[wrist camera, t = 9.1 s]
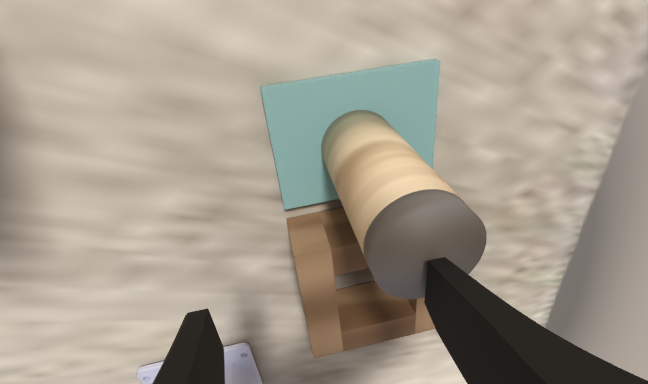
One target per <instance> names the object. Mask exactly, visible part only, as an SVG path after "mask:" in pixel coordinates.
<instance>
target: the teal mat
mask: <svg viewBox="0 0 648 384" xmlns="http://www.w3.org/2000/svg"><path fill="white" fill-rule="evenodd" d="M439 70H440V61H439V60H437V59H432V60H425V61H419V62H413V63H406V64H400V65H394V66H387V67H381V68H375V69H368V70H362V71H356V72H349V73H343V74H337V75H330V76H324V77H318V78H311V79H305V80H299V81H292V82H286V83H280V84H273V85H267V86H261V87H260V88H261V93H262V98H263V103H264V108H265V113H266V118H267V123H268V128H269V133H270V138H271V143H272V148H273V153H274V158H275V164H276V169H277V174H278V179H279V184H280V189H281V194H282V199H283V204H284V209H285V210H286V209H291V208H296V207H301V206H306V205H311V204H316V203H321V202H326V201H332V200H337V199H340V198H339V196H338V193H337V191H336V189H335V186H334V184H333V182H332V179H331V177H330V175H329V172H328V170H327V168H326V165H325V163H324V161H323V158H322V154H321V143H322V139H323V136H324V134H325V132H326V130H327V128H328V127H329V126H330V125H331V123H332V122H333V121H334V120H336V119H337V118H338V117H340V116H341V115H343V114H345V113H348V112H351V111H355V110H368V111H372V112H375V113H377V114H379V115H380V116H382V117H383V118H384V119H385V120H386V121H387V122H388V123H389V124H390V125H391V126H392V127H393V128H394V129H395V130H396V132H397V133H398V134H399V135H400V136H401V137H402V138H403V139H404V140H405V141H406V142H407V143H408V144H409V145H410V146H411V147H412V148H413V149H414V150H415V151H416V152H417V153H418V154H419V155H420V157H421V158H422V159H423V160H424V161H425V162H426V163H427V164H428V165H429V166H430V167H431V168H432V169H433V156H434V142H435V128H436V113H437V99H438V84H439Z"/></svg>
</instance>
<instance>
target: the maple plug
mask: <svg viewBox="0 0 648 384" xmlns="http://www.w3.org/2000/svg"><path fill="white" fill-rule="evenodd" d="M321 154H322V158H323V161H324V163H325V165H326V168H327V170H328V172H329V175H330V177H331V179H332V182H333V184H334V186H335V189H336V191H337V193H338V196H339V198H340V200H341V203H342V205H343V207H344V210H345V212H346V214H347V217H348V219H349V221H350V224H351V226H352V228H353V231H354V233H355V236H356V238H357V240H358V243H359V245H360V247H361V250H362V252H363V254H364V257H365V259H366V261H367V264H368V266H369V268H370V271H371V273H372V275H373V278H374V280H375V282H376V284H377V285H378V286H379V287H380V289H382V290H383V291H384V292H386V293H387V294H389V295H392V296H394V297H398V298H403V299H418V298H425V289H426V277H427V265H428V261H429V260H434V259H438V258H443V257H446V258H447V259H448V260H450V261H451V262H452V263H454V264H455V265H456V266H458V267H459V268H460V269H462V270H463V271H464V272H465V273H467V274H469V273H470V272H471V271H472V270H473V269H474V267H475V266H476V265H477V263H478V262H479V260H480V258H481V256H482V254H483V252H484V249H485V245H486V230H485V226H484V224H483V222H482V221H481V219H480V218H479V217H478V216H477V215H476V214H475V213H474V212H473V211H472V210H471V209H470V208H469V207H468V205H467V204H466V203H465V202H464V201H463V200H462V199H461V198H460V197H459V196H458V195H457V194H456V193H455V192H454V191H453V190H452V189H451V188H450V187H449V186H448V185H447V184H446V183H445V182H444V180H443V179H442V178H441V177H440V176H439V175H438V174H437V173H436V172H435V171H434V170H433V169H432V168H431V167H430V166H429V165H428V164H427V163H426V162H425V161H424V160H423V159H422V158H421V157H420V155H419V154H418V153H417V152H416V151H415V150H414V149H413V148H412V147H411V146H410V145H409V144H408V143H407V142H406V141H405V140H404V139H403V138H402V137H401V136H400V135H399V134H398V133H397V132H396V130H395V129H394V128H393V127H392V126H391V125H390V124H389V123H388V122H387V121H386V120H385V119H384V118H383V117H382V116H380V115H379V114H377V113H375V112H372V111H368V110H355V111H351V112H348V113H345V114H343V115H341V116H340V117H338V118H337V119H336V120H334V121H333V122H332V123H331V125H330V126H329V127H328V128H327V130H326V132H325V134H324V136H323V139H322V143H321Z"/></svg>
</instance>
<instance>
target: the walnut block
mask: <svg viewBox="0 0 648 384" xmlns="http://www.w3.org/2000/svg"><path fill="white" fill-rule="evenodd" d="M287 224H288V229H289V235H290V240H291V246H292V251H293V256H294V261H295V266H296V271H297V276H298V281H299V286H300V291H301V296H302V301H303V306H304V311H305V316H306V321H307V326H308V331H309V336H310V341H311V346H312V351H313V356H314V358H318V357H322V356H326V355H330V354H335V353H339V352H343V351H347V350H351V349H355V348H359V347H363V346H367V345H371V344H375V343H379V342H383V341H387V340H391V339H395V338H400V337H404V336H408V335H412V334H416V333H420V332H424V331H428V330H432V329H436V328H435V326H434V324H433V322H432V320H431V317H430V315H429V313H428V310H427V308H426V305H425V303H424V301H425V298H418V299H403V298H398V297H394V296H392V295H389V294H387V293H386V292H384V291H383V290H382V289H380V287H379V286H378V285H377V284H376V282H375V281H373V282H368V283H364V284H359V285H355V286H350V287H346V288H342V289H337V290H336V286H335V278H334V276H337V275H342V274H346V273H351V272H355V271H360V270H364V269H369V266H368V264H367V261H366V259H365V257H364V254H363V252H362V250H361V247H360V245H359V243H358V240H357V238H356V236H355V233H354V231H353V228H352V226H351V224H350V221H349V219H348V217H347V214H346V212H345V210H344V207H342V208H337V209H332V210H327V211H322V212H317V213H312V214H307V215H302V216H297V217H292V218H287Z"/></svg>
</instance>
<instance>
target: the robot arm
mask: <svg viewBox="0 0 648 384" xmlns="http://www.w3.org/2000/svg"><path fill="white" fill-rule="evenodd" d="M424 303H425V305H426V308H427V310H428V313H429V315H430V317H431V320H432V322H433V324H434V326H435V328H436V331H437V332H438V334H439V336H440V338H441V339H442V341H443V343H444V345H445V346H446V348H447V350H448V352H449V353H450V355H451V357H452V358H453V360H454V362H455V363H456V365H457V367H458V368H459V370H460V372H461V374H462V375H463V377H464V379H465V380H466V382H467V384H648V381H647V380H644V379H642V378H640V377H638V376H635V375H633V374H631V373H629V372H627V371H625V370H623V369H620V368H618V367H616V366H614V365H612V364H610V363H608V362H606V361H604V360H602V359H600V358H598V357H596V356H594V355H592V354H590V353H588V352H587V351H585V350H583V349H581V348H579V347H577V346H575V345H574V344H572V343H570V342H568V341H567V340H565V339H563V338H561V337H560V336H558V335H556V334H554V333H553V332H550V331H549V330H547V329H546V328H544V327H543V326H541V325H539V324H538V323H536V322H535V321H533V320H531V319H530V318H528V317H527V316H525V315H524V314H522V313H521V312H519V311H518V310H516V309H515V308H513V307H512V306H510V305H509V304H507V303H506V302H505V301H503V300H502V299H500V298H499V297H498V296H496V295H495V294H493V293H492V292H491V291H489V290H488V289H487V288H485V287H484V286H483V285H481V284H480V283H479V282H477V281H476V280H475V279H473V278H472V277H471V276H469V275H468V274H467V273H465V272H464V271H463V270H462V269H460V268H459V267H458V266H456V265H455V264H454V263H452V262H451V261H450V260H448V259H447V258H446V257H443V258H438V259H434V260H429V261H428V265H427V277H426V289H425V301H424ZM137 377H138V378H139V380H140V381H141V383H142V384H263V383H262V380H261V377H260V374H259V371H258V368H257V366H256V363H255V360H254V357H253V354H252V351H251V349H250V346H249V344H247V343H238V344H234V345H230V346H226V347H223V345H222V343H221V340H220V338H219V335H218V333H217V330H216V328H215V325H214V322H213V320H212V317H211V315H210V312H209V310H208V309H204V310H199V311H194V312H190V313H187V315H186V316H185V318H184V320H183V322H182V325H181V327H180V329H179V331H178V333H177V336H176V338H175V340H174V342H173V344H172V346H171V348H170V350H169V352H168V354H167V356H166V358H165V360H164V361H162V362H158V363H154V364H149V365H145V366H142V367H140V368H138V370H137Z"/></svg>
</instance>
